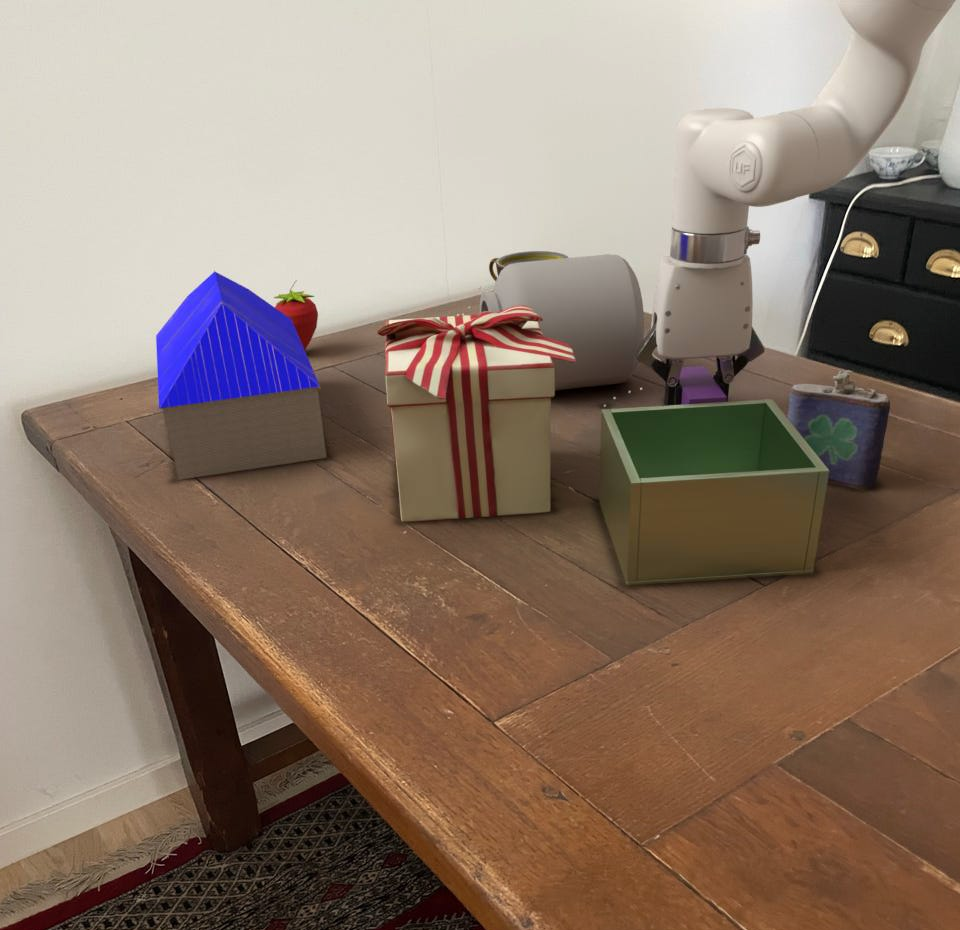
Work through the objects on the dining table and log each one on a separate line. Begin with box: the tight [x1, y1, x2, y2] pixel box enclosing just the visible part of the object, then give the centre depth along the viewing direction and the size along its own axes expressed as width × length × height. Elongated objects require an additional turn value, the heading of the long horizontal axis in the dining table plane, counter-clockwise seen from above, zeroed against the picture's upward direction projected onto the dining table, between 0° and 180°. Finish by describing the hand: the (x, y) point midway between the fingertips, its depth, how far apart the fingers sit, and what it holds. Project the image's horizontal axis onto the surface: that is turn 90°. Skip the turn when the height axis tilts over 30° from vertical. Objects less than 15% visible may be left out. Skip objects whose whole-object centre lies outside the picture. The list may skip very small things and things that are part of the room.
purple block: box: [679, 365, 727, 405], centre depth 114 cm, size 4×10×4 cm, turn 3°
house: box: [155, 270, 328, 481], centre depth 113 cm, size 25×16×16 cm, turn 16°
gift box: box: [376, 305, 576, 523], centre depth 96 cm, size 17×18×17 cm
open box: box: [598, 398, 829, 586], centre depth 89 cm, size 16×16×10 cm
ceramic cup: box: [488, 250, 571, 282], centre depth 140 cm, size 13×10×10 cm
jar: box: [456, 254, 645, 408], centre depth 120 cm, size 19×15×25 cm
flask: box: [786, 370, 891, 491], centre depth 97 cm, size 9×3×11 cm, turn 58°
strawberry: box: [273, 279, 319, 351], centre depth 136 cm, size 6×8×10 cm
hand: (694, 413), depth 115 cm, fingers closed on purple block, 4 cm apart
